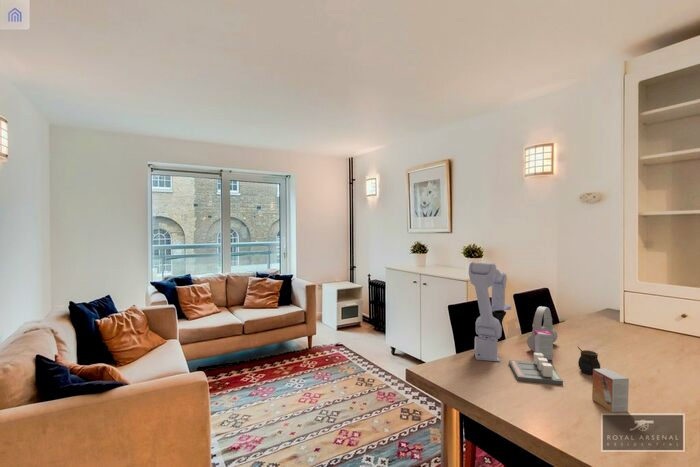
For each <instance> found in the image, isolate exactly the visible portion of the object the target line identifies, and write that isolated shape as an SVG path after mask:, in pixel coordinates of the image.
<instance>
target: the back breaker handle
mask: <svg viewBox="0 0 700 467" xmlns="http://www.w3.org/2000/svg"><path fill="white" fill-rule="evenodd" d="M537 358H544V355H543V354H542V353H534V352H533V362H534V364H535V365H537Z"/></svg>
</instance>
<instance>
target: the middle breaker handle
mask: <svg viewBox="0 0 700 467" xmlns="http://www.w3.org/2000/svg"><path fill="white" fill-rule="evenodd" d="M541 363H549V361H548V360H547V359H546V358H537V368H538V369H539V370H540V371H541Z"/></svg>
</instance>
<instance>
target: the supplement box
mask: <svg viewBox="0 0 700 467" xmlns="http://www.w3.org/2000/svg"><path fill="white" fill-rule="evenodd" d="M553 344H554V342H553V335H552V334H551V333H550V332H548V331H537V330H535V344H534V351H533V354H534V353H542V354H543V355H544V358H546V359H547V360H548V362H553V354H554V353H553V349H554V347H553Z"/></svg>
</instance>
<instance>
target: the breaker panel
mask: <svg viewBox="0 0 700 467" xmlns="http://www.w3.org/2000/svg"><path fill="white" fill-rule="evenodd" d="M508 364H509V366H510V368H511V369H512V370H511V371H512V372H513V374H514V376H515V377H516V378H515V379H516V380H517V381H518V382H526V383H528V382H529V383H538V384H548V385H557V386H558V385H560V386H563V385H564V380H563V379H562V378H561V377H560V376H559V374H558V373H557V372H556V371H555V369H554V368H553V377H545V376H543V375H542V373H541V371H540V370H539V369H538V368H537V365H535V364H534V361H526V360H516V359H514V360H513V359H508Z"/></svg>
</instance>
